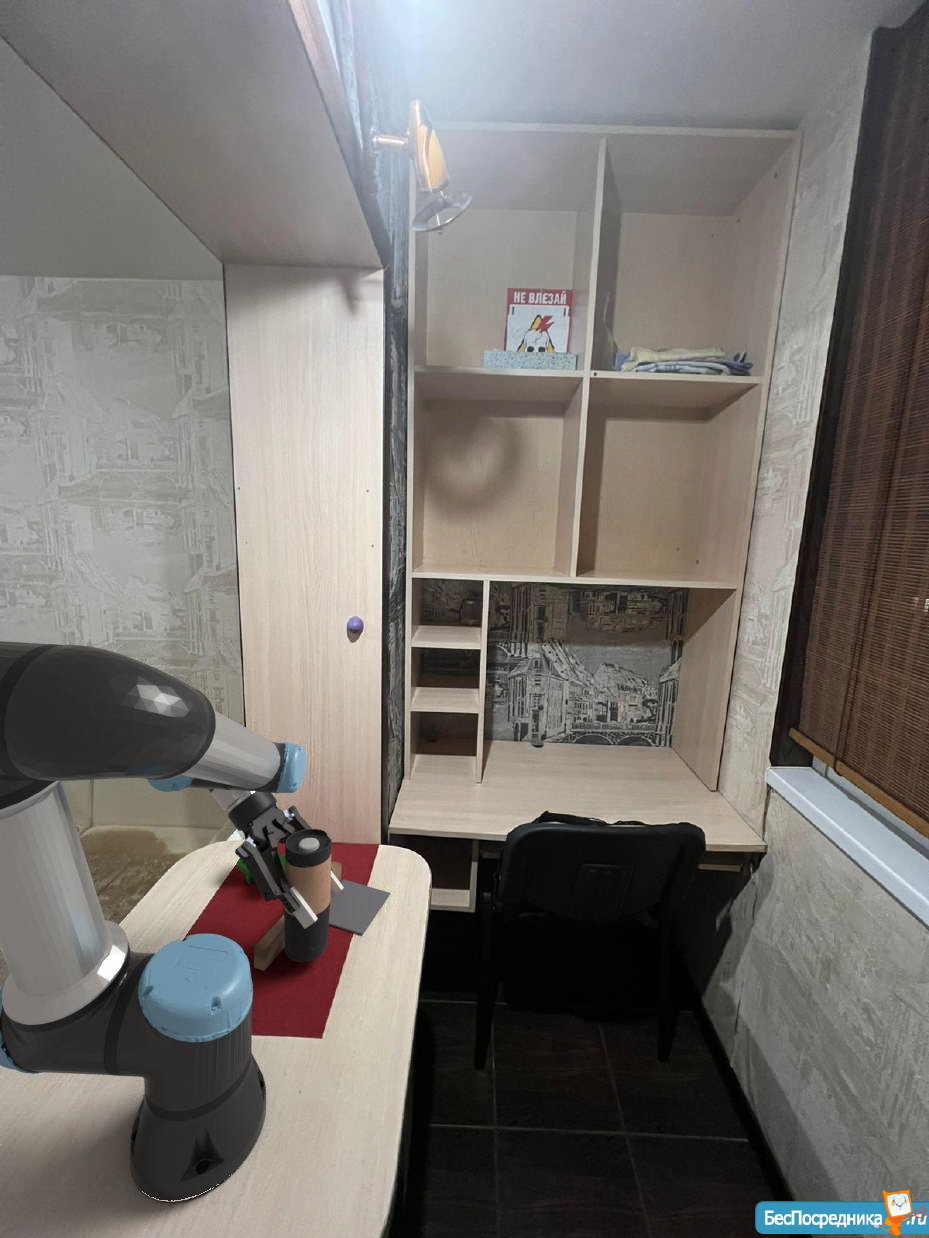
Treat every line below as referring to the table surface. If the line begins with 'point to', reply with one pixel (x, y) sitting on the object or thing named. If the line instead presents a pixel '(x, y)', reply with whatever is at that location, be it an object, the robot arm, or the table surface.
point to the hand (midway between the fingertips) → (325, 907)
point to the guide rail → (278, 935)
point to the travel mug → (308, 892)
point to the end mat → (355, 906)
